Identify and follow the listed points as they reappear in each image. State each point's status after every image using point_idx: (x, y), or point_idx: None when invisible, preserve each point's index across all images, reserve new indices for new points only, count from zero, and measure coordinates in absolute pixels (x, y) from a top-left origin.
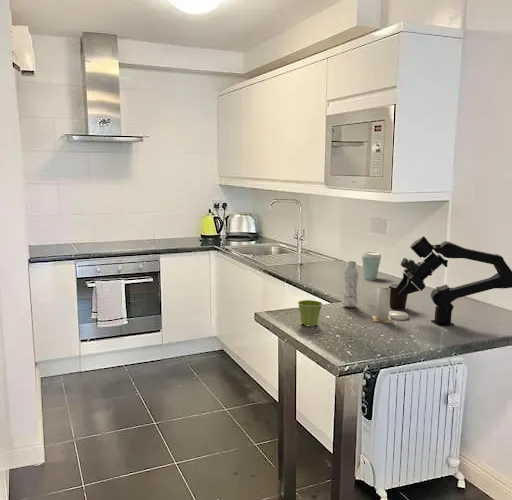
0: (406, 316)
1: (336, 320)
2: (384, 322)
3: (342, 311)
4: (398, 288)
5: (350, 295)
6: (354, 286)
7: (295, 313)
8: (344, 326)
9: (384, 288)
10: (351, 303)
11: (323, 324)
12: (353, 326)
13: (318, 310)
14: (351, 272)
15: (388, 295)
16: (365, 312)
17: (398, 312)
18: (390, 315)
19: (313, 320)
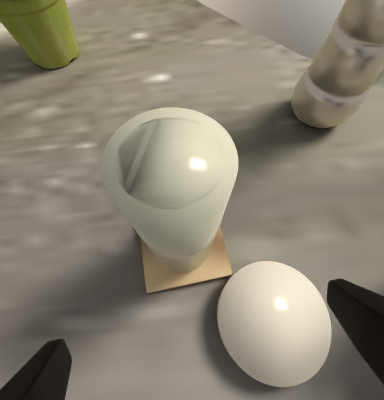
0: (250, 375)
1: (121, 102)
2: (143, 258)
3: (241, 103)
4: (351, 317)
5: (316, 69)
6: (358, 33)
7: (159, 16)
8: (55, 130)
9: (156, 163)
10: (298, 104)
11: (67, 80)
12: (60, 155)
13: (2, 15)
14: None
15: (136, 230)
16: (271, 170)
17: (300, 318)
18: (231, 277)
19: (19, 44)
